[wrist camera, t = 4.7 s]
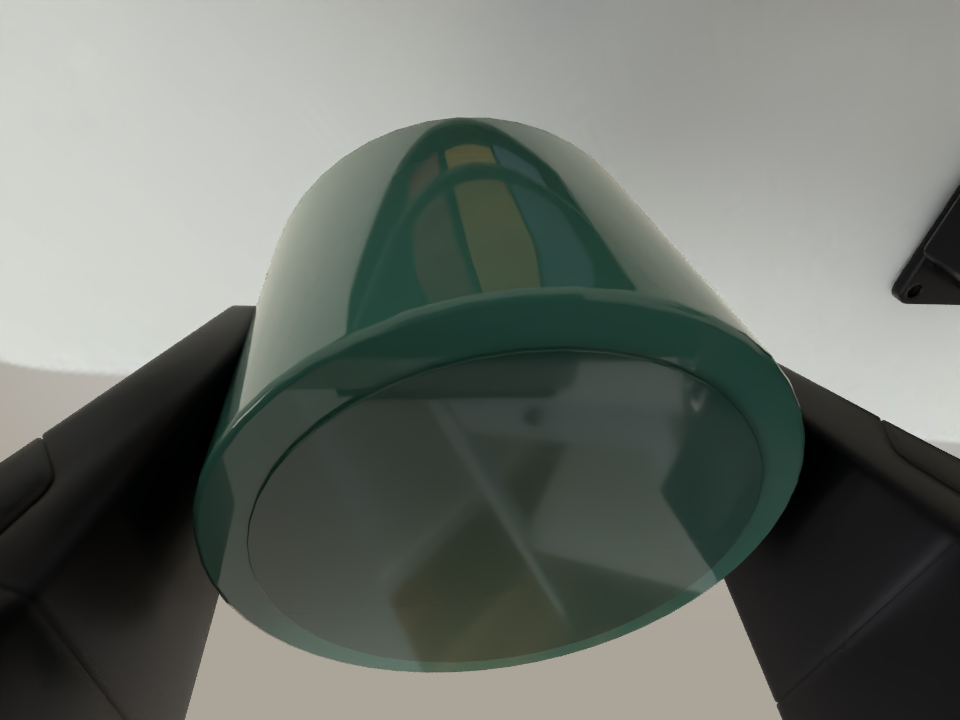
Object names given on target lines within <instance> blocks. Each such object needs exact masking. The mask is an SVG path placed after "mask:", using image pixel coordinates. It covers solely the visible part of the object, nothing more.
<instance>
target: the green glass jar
mask: <svg viewBox="0 0 960 720" xmlns="http://www.w3.org/2000/svg"><path fill="white" fill-rule="evenodd" d="M804 450H805V431H804V425H803V419H802V413H801V408H800V404H799V401H798V399H797V397H796V394H795V392H794V390H793V387H792V385H791V383H790V380H789V379H788V377H787V376H786V375H785V373H784V372H783V371H782V369H781V368H780V367H779V365H778V364H777V363H776V361H775V360H774V358H773V357H772V356H771V355H770V354H769V352H768V351H767V350H766V349H765V348H764V347H763V346H762V345H761V343H760V342H759V341H758V340H757V339H756V338H755V337H754V336H753V334H752V333H751V332H750V331H749V330H748V329H747V328H746V327H745V325H744V324H743V323H742V322H741V321H740V320H739V319H738V318H737V316H736V315H735V314H734V313H733V312H732V311H731V310H730V309H729V307H728V306H727V305H726V304H725V303H724V302H723V301H722V300H721V298H720V297H719V296H718V295H717V294H716V293H715V292H714V291H713V289H712V288H711V287H710V286H709V285H708V284H707V283H706V282H705V280H704V279H703V278H702V277H701V276H700V275H699V274H698V273H697V271H696V270H695V269H694V268H693V267H692V266H691V265H690V264H689V262H688V261H687V260H686V259H685V258H684V257H683V256H682V255H681V253H680V252H679V251H678V250H677V249H676V248H675V247H674V246H673V244H672V243H671V242H670V241H669V240H668V239H667V238H666V237H665V235H664V234H663V233H662V232H661V231H660V230H659V229H658V228H657V226H656V225H655V224H654V223H653V222H652V221H651V220H650V219H649V217H648V216H647V215H646V214H645V213H644V212H643V211H642V210H641V208H640V207H639V206H638V205H637V204H636V203H635V202H634V201H633V199H632V198H631V197H630V196H629V195H628V194H627V193H626V192H625V190H624V189H623V188H622V187H621V186H620V185H619V184H618V183H617V181H616V180H615V179H614V178H613V177H612V176H611V175H610V174H609V173H608V172H607V171H606V170H605V169H604V168H603V167H602V166H601V165H600V164H599V163H597V162H596V161H595V160H594V159H593V158H592V157H591V156H589V155H588V154H586V153H585V152H583V151H582V150H580V149H579V148H577V147H576V146H574V145H573V144H571V143H570V142H568V141H566V140H564V139H562V138H559V137H557V136H555V135H553V134H551V133H549V132H547V131H544V130H541V129H538V128H534V127H531V126H528V125H525V124H521V123H518V122H512V121H505V120H499V119H492V118H450V119H443V120H435V121H427V122H423V123H420V124H416V125H412V126H409V127H405V128H402V129H398V130H395V131H393V132H391V133H388V134H386V135H384V136H381V137H379V138H377V139H374V140H372V141H370V142H368V143H366V144H365V145H363V146H361V147H360V148H358V149H356V150H355V151H353V152H351V153H350V154H348V155H347V156H345V157H343V158H342V159H341V160H340V161H338V162H337V163H336V164H335V165H334V166H332V167H331V168H330V169H329V170H328V171H326V172H325V173H324V174H323V175H322V176H321V177H320V178H319V179H318V180H317V181H316V182H315V183H314V184H313V185H312V187H311V188H310V189H309V190H308V191H307V192H306V193H305V194H304V196H303V197H302V198H301V200H300V201H299V203H298V204H297V206H296V207H295V209H294V211H293V212H292V214H291V215H290V217H289V218H288V220H287V222H286V225H285V227H284V229H283V231H282V234H281V236H280V238H279V240H278V243H277V246H276V249H275V252H274V255H273V258H272V261H271V264H270V267H269V270H268V273H267V276H266V279H265V282H264V285H263V288H262V291H261V294H260V297H259V299H258V302H257V305H256V308H255V311H254V314H253V317H252V320H251V323H250V326H249V329H248V332H247V335H246V338H245V341H244V344H243V347H242V350H241V353H240V356H239V359H238V362H237V365H236V368H235V371H234V374H233V377H232V380H231V383H230V386H229V389H228V392H227V395H226V398H225V401H224V404H223V407H222V410H221V413H220V416H219V419H218V422H217V425H216V428H215V431H214V434H213V437H212V440H211V442H210V445H209V448H208V451H207V454H206V457H205V460H204V463H203V466H202V469H201V472H200V476H199V480H198V484H197V488H196V493H195V497H194V501H193V533H194V538H195V542H196V546H197V550H198V555H199V559H200V562H201V564H202V566H203V568H204V570H205V572H206V574H207V576H208V578H209V580H210V582H211V584H212V585H213V586H214V588H215V589H216V590H217V591H218V593H219V594H220V595H221V597H222V598H223V599H224V600H225V602H226V603H227V604H229V605H230V606H231V607H232V608H233V609H234V610H235V611H236V612H237V613H238V614H239V615H240V616H242V617H243V618H244V619H245V620H246V621H248V622H249V623H251V624H252V625H254V626H256V627H257V628H258V629H260V630H262V631H263V632H265V633H266V634H268V635H270V636H272V637H274V638H276V639H278V640H280V641H282V642H283V643H286V644H287V645H289V646H292V647H295V648H297V649H300V650H303V651H305V652H308V653H311V654H313V655H316V656H320V657H323V658H327V659H331V660H334V661H338V662H341V663H347V664H352V665H357V666H362V667H368V668H375V669H376V668H377V669H384V670H393V671H408V672H462V671H475V670H487V669H495V668H503V667H510V666H516V665H521V664H527V663H532V662H538V661H542V660H546V659H550V658H554V657H559V656H563V655H567V654H570V653H573V652H577V651H580V650H584V649H587V648H590V647H593V646H596V645H599V644H601V643H604V642H607V641H610V640H613V639H616V638H618V637H621V636H623V635H625V634H628V633H630V632H632V631H635V630H637V629H639V628H642V627H644V626H646V625H648V624H650V623H652V622H654V621H656V620H658V619H660V618H662V617H664V616H666V615H668V614H670V613H672V612H674V611H675V610H677V609H679V608H680V607H682V606H684V605H686V604H687V603H689V602H691V601H692V600H694V599H696V598H697V597H698V596H700V595H701V594H703V593H704V592H706V591H707V590H709V589H710V588H712V587H713V586H714V585H716V584H717V583H718V582H720V581H721V580H722V579H723V578H725V577H726V576H727V575H728V574H730V573H731V572H732V571H733V570H735V569H736V568H737V567H738V566H739V565H740V564H741V563H742V562H743V561H744V560H745V559H746V558H747V557H748V556H749V555H750V554H751V553H752V552H754V551H755V550H756V549H757V547H758V546H759V545H760V544H761V543H762V541H763V540H764V539H765V538H766V537H767V535H768V534H769V533H770V532H771V531H772V529H773V528H774V527H775V525H776V524H777V522H778V520H779V519H780V517H781V516H782V514H783V513H784V511H785V510H786V508H787V506H788V504H789V502H790V500H791V498H792V495H793V493H794V491H795V489H796V487H797V484H798V481H799V477H800V473H801V469H802V466H803V462H804Z"/></svg>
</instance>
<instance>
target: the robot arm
mask: <svg viewBox="0 0 960 720" xmlns="http://www.w3.org/2000/svg"><path fill="white" fill-rule="evenodd" d="M892 295H893V296H894V297H895V298H897V299H898V300H899V301H901V302H902V303H906V304H944V305H960V185H959V187H958V188H957V190H956V191H955V193H954V194H953V196H952V197H951V199H950V200H949V202H948V203H947V205H946V207H945V208H944V210H943V211H942V213H941V214H940V216H939V217H938V219H937V220H936V222H935V223H934V225H933V226H932V228H931V229H930V231H929V232H928V234H927V235H926V237H925V238H924V240H923V241H922V243H921V244H920V246H919V247H918V249H917V250H916V252H915V254H914V255H913V257H912V258H911V260H910V261H909V263H908V264H907V266H906V267H905V269H904V270H903V272H902V273H901V275H900V276H899V278H898V279H897V281H896V282H895V284H894V286H893V288H892ZM255 308H256V306H232V307H230V308H228V309H227V310H225V311H224V312H222V313H221V314H219V315H218V316H216V317H215V318H213V319H212V320H210V321H209V322H207V323H206V324H205V325H203V326H202V327H200V328H199V329H197V330H196V331H194V332H193V333H191V334H190V335H188V336H187V337H185V338H184V339H182V340H181V341H179V342H178V343H177V344H175V345H174V346H172V347H171V348H169V349H168V350H166V351H165V352H163V353H162V354H160V355H159V356H157V357H156V358H154V359H153V360H151V361H150V362H149V363H147V364H146V365H144V366H143V367H141V368H140V369H138V370H137V371H135V372H134V373H132V374H131V375H129V376H128V377H126V378H125V379H124V380H122V381H121V382H119V383H118V384H116V385H115V386H113V387H112V388H110V389H109V390H107V391H106V392H104V393H103V394H101V395H100V396H98V397H97V398H96V399H94V400H93V401H91V402H90V403H88V404H87V405H85V406H84V407H82V408H81V409H79V410H78V411H76V412H75V413H73V414H72V415H70V416H69V417H68V418H66V419H65V420H63V421H62V422H60V423H59V424H57V425H56V426H54V427H53V428H51V429H50V430H48V431H47V432H45V433H44V434H43V439H41V438H37V439H35V440H33V441H32V442H30V443H29V444H27V445H26V446H24V447H23V448H22V449H20V450H19V451H17V452H16V453H14V454H13V455H11V456H10V457H8V458H7V459H5V460H4V461H2V462H1V463H0V720H185V717H186V713H187V709H188V706H189V702H190V698H191V695H192V691H193V688H194V684H195V680H196V677H197V673H198V669H199V666H200V662H201V658H202V655H203V651H204V647H205V643H206V640H207V636H208V633H209V629H210V625H211V622H212V618H213V614H214V611H215V607H216V603H217V600H218V596H219V593H218V591H217V590H216V589H215V588H214V586H213V585H212V584H211V582H210V580H209V578H208V576H207V574H206V572H205V570H204V568H203V566H202V564H201V562H200V559H199V555H198V550H197V546H196V542H195V538H194V533H193V501H194V497H195V493H196V488H197V484H198V480H199V476H200V472H201V469H202V466H203V463H204V460H205V457H206V454H207V451H208V448H209V445H210V442H211V440H212V437H213V434H214V431H215V428H216V425H217V422H218V419H219V416H220V413H221V410H222V407H223V404H224V401H225V398H226V395H227V392H228V389H229V386H230V383H231V380H232V377H233V374H234V371H235V368H236V365H237V362H238V359H239V356H240V353H241V350H242V347H243V344H244V341H245V338H246V335H247V332H248V329H249V326H250V323H251V320H252V317H253V314H254V311H255ZM776 363H777V362H776ZM777 364H778V365H779V367H780V368H781V369H782V371H783V372H784V373H785V375H786V376H787V377H788V379H789V380H790V383H791V385H792V387H793V390H794V392H795V394H796V397H797V399H798V401H799V404H800V408H801V413H802V419H803V425H804V431H805V450H804V462H803V466H802V469H801V473H800V477H799V481H798V484H797V487H796V489H795V491H794V493H793V495H792V498H791V500H790V502H789V504H788V506H787V508H786V510H785V511H784V513H783V514H782V516H781V517H780V519H779V520H778V522H777V524H776V525H775V527H774V528H773V529H772V531H771V532H770V533H769V534H768V535H767V537H766V538H765V539H764V540H763V541H762V543H761V544H760V545H759V546H758V547H757V549H756V550H755V551H754V552H752V553H751V554H750V555H749V556H748V557H747V558H746V559H745V560H744V561H743V562H742V563H741V564H740V565H739V566H738V567H737V568H736V569H735V570H733V571H732V572H731V573H730V574H728V575H727V576H726V577H725V578H724V579H725V582H726V584H727V587H728V589H729V592H730V594H731V596H732V599H733V601H734V604H735V606H736V608H737V611H738V613H739V616H740V618H741V620H742V623H743V625H744V628H745V630H746V632H747V635H748V637H749V640H750V642H751V644H752V647H753V649H754V652H755V654H756V656H757V659H758V661H759V664H760V666H761V668H762V670H763V673H764V675H765V678H766V680H767V683H768V685H769V688H770V690H771V692H772V695H773V697H774V700H775V701H776V702H778V704H777V708H778V710H779V713H780V715H781V717H782V720H960V459H959V458H957V457H955V456H952V455H951V454H948V453H947V452H945V451H943V450H941V449H939V448H937V447H935V446H933V445H931V444H929V443H927V442H925V441H923V440H922V439H920V438H918V437H916V436H914V435H912V434H910V433H908V432H906V431H904V430H902V429H901V428H899V427H897V426H895V425H893V424H891V423H889V422H887V421H885V420H882V421H881V420H880V418H879V417H878V416H876V415H874V414H872V413H870V412H868V411H867V410H865V409H863V408H861V407H859V406H857V405H855V404H854V403H852V402H850V401H848V400H846V399H844V398H842V397H840V396H839V395H837V394H835V393H833V392H831V391H829V390H827V389H825V388H824V387H822V386H820V385H818V384H816V383H814V382H812V381H810V380H809V379H807V378H805V377H803V376H801V375H799V374H797V373H795V372H794V371H792V370H790V369H788V368H786V367H784V366H782V365H780V364H779V363H777Z"/></svg>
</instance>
